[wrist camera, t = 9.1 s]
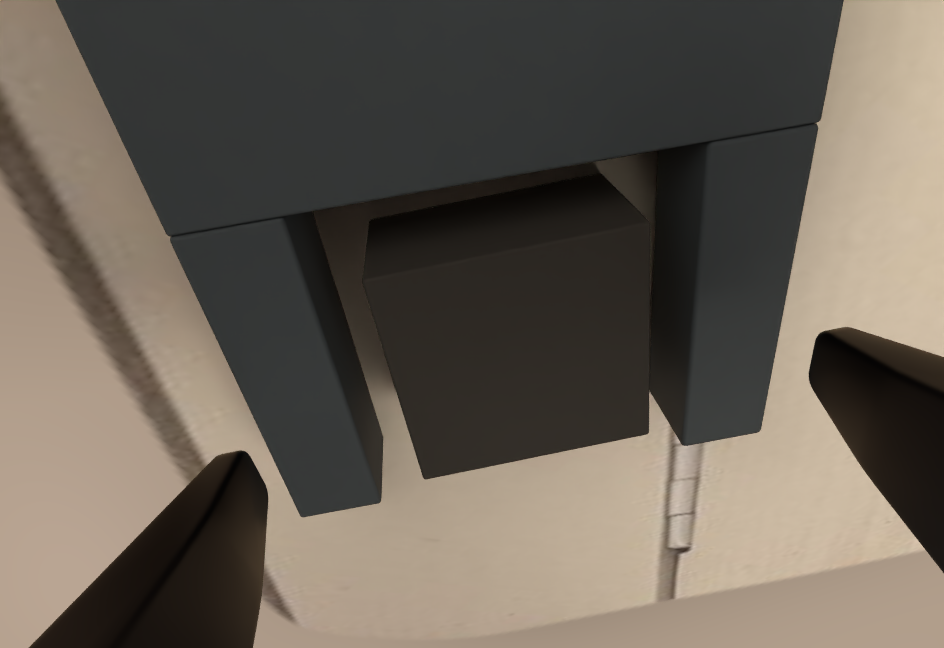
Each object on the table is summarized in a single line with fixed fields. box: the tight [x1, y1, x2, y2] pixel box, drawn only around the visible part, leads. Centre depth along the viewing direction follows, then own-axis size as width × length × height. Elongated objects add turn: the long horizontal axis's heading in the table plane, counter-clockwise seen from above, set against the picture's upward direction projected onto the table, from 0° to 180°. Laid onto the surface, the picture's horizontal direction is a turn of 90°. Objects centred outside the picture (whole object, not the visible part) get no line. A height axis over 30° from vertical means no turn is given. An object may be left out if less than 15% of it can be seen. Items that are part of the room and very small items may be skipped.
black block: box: [362, 174, 650, 479], centre depth 11 cm, size 4×4×2 cm
